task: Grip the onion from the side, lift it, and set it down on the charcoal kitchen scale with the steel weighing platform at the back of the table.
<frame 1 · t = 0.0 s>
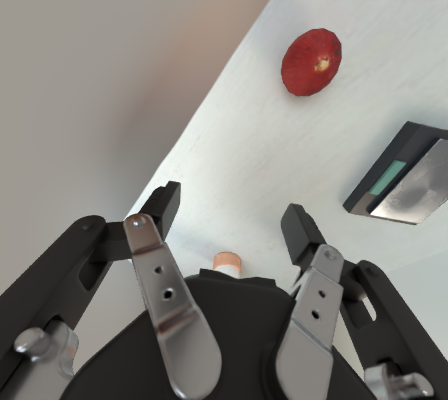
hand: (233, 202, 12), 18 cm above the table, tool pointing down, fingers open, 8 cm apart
scale: (406, 177, 30), on the table
onion: (298, 67, 22), on the table
pepper shaker: (227, 259, 47), on the table
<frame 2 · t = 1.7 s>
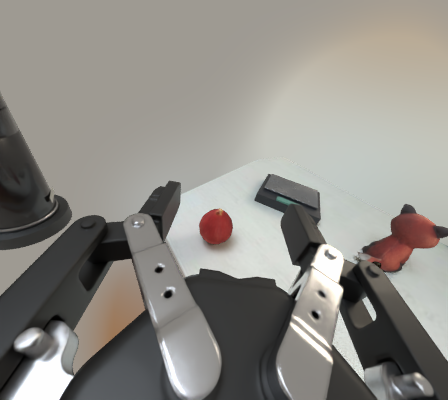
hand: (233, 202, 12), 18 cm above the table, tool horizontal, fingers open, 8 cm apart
scale: (287, 199, 48), on the table
stuffed fox: (372, 259, 36), on the table
onion: (212, 241, 32), on the table
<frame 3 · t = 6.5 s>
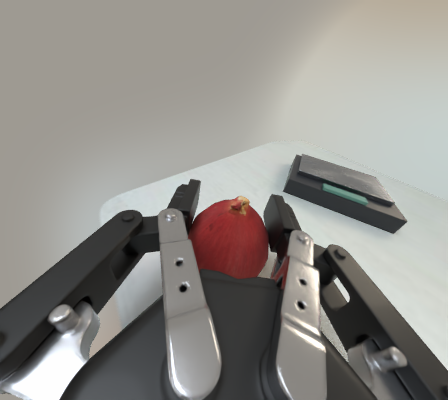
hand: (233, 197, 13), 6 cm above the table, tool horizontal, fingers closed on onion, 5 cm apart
scale: (330, 190, 31), on the table
onion: (217, 272, 14), on the table, touching gripper
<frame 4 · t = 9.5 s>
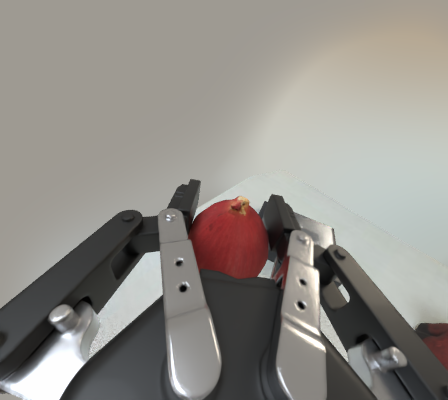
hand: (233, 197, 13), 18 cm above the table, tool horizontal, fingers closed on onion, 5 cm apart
scale: (290, 241, 35), on the table
stuffed fox: (427, 357, 23), on the table
onion: (217, 272, 14), point 11 cm above the table, touching gripper
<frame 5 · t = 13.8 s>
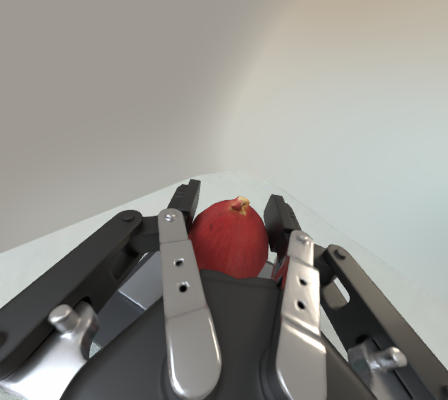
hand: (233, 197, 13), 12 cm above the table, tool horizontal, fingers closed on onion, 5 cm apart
scale: (206, 304, 18), on the table
onion: (217, 272, 14), point 6 cm above the table, touching gripper
when the fingers open (9 cm above the table, at t = 15.2 s): onion stays where it is, resting on scale.
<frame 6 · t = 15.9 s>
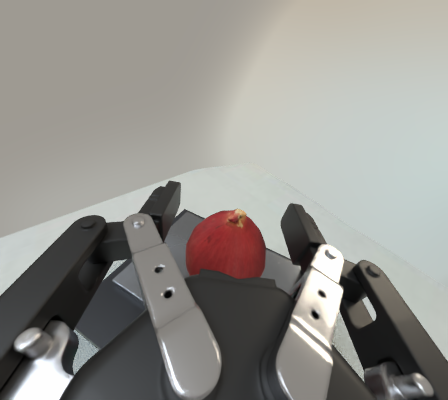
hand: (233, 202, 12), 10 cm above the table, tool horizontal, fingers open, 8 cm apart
scale: (209, 298, 16), on the table
onion: (217, 279, 15), point 3 cm above the table, touching scale
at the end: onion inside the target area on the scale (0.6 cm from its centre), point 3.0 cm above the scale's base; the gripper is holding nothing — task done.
